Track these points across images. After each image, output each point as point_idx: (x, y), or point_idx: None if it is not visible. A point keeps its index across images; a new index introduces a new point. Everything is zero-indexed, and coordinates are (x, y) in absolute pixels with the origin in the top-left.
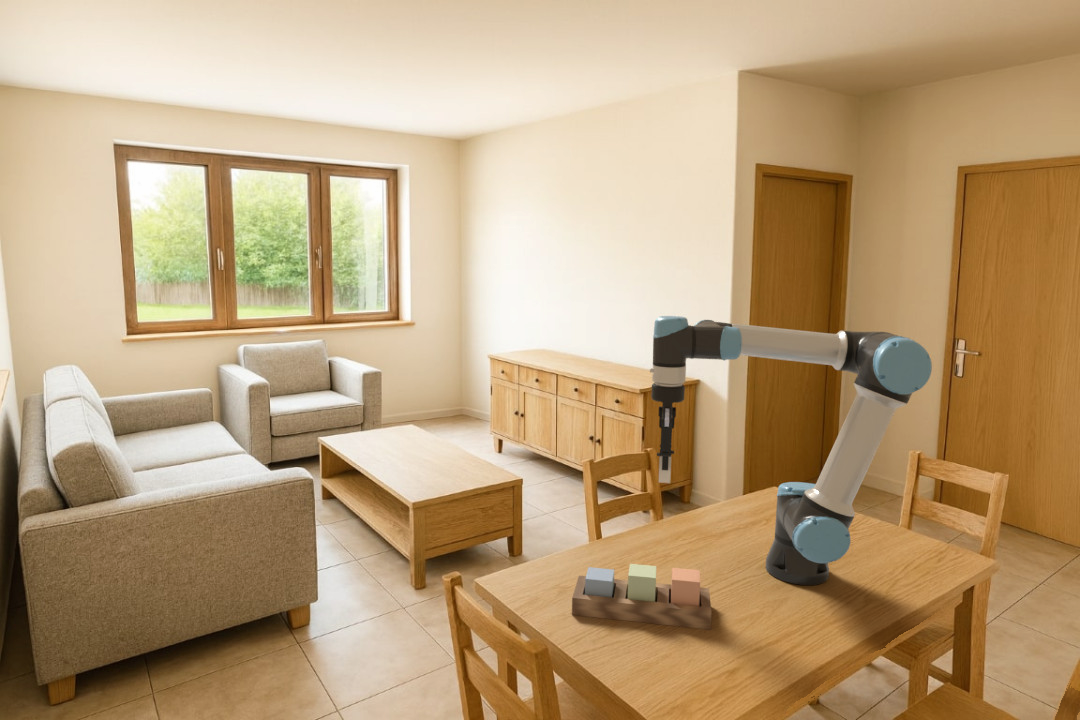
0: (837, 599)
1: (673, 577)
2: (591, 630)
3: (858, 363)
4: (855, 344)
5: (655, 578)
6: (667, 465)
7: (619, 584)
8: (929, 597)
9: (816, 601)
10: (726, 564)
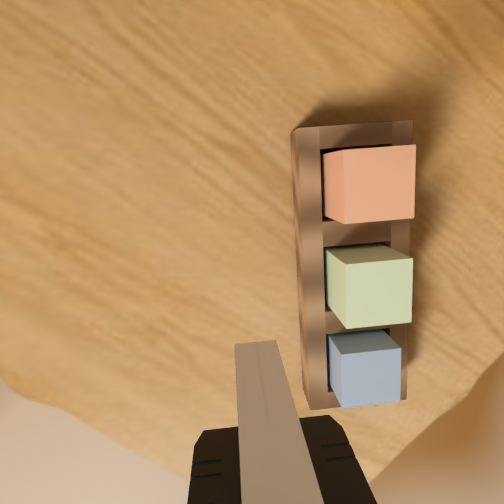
0: None
1: (401, 215)
2: (431, 337)
3: None
4: None
5: (412, 258)
6: (349, 454)
7: (329, 327)
8: None
9: None
10: (52, 88)
